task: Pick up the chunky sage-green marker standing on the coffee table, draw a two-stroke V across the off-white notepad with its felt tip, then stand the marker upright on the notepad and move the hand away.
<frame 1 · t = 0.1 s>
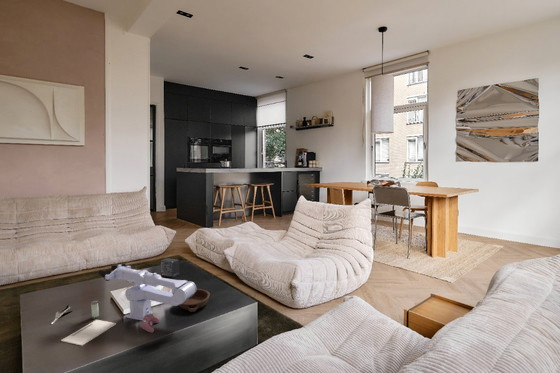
hand: (105, 269, 162), 22 cm above the table, tool horizontal, fingers open, 7 cm apart
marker: (95, 317, 157), on the table
video game controller: (150, 328, 147), on the table
scissors: (62, 315, 161), on the table
notepad: (89, 332, 144), on the table
dish: (193, 305, 169), on the table
small box: (170, 275, 212), on the table
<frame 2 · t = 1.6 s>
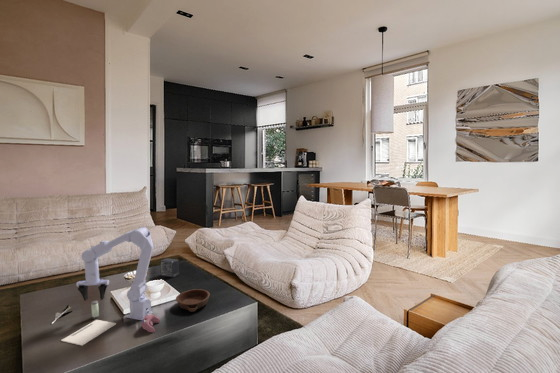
hand: (94, 299, 156), 9 cm above the table, tool pointing down, fingers open, 7 cm apart
nothing on the table moved.
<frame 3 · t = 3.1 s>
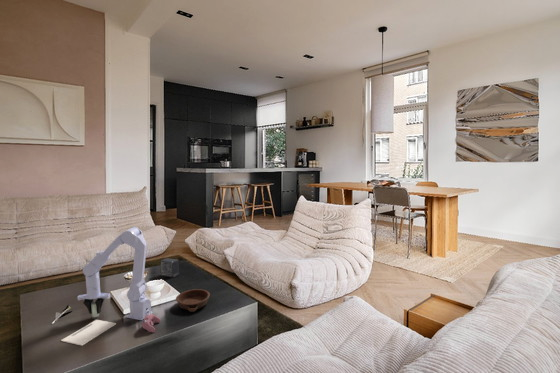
hand: (95, 312, 157), 2 cm above the table, tool pointing down, fingers closed on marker, 3 cm apart
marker: (95, 317, 157), on the table, touching gripper
everything else where it was.
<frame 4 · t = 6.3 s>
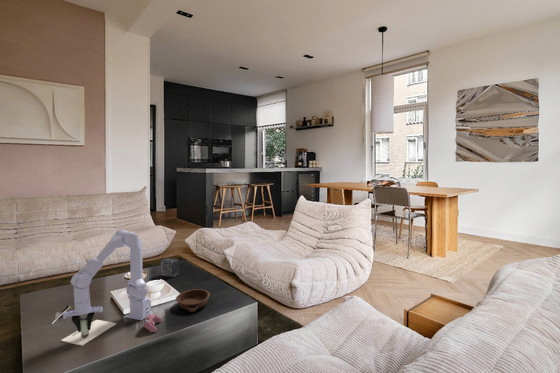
hand: (84, 330, 139), 3 cm above the table, tool pointing down, fingers closed on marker, 3 cm apart
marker: (85, 335, 139), point 1 cm above the table, touching gripper
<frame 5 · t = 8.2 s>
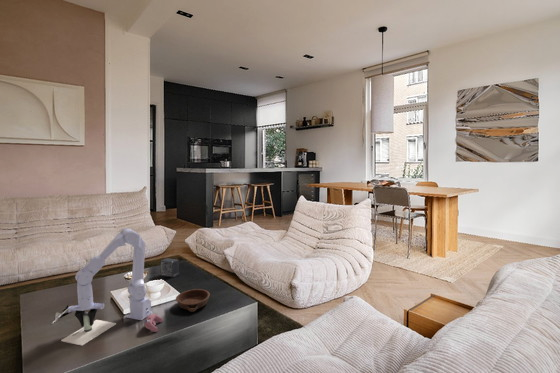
hand: (87, 325, 144), 3 cm above the table, tool pointing down, fingers closed on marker, 3 cm apart
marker: (88, 330, 145), resting on notepad, touching gripper
when the fingers open (4 cm above the table, at t = 10.0 s): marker stays where it is, resting on notepad.
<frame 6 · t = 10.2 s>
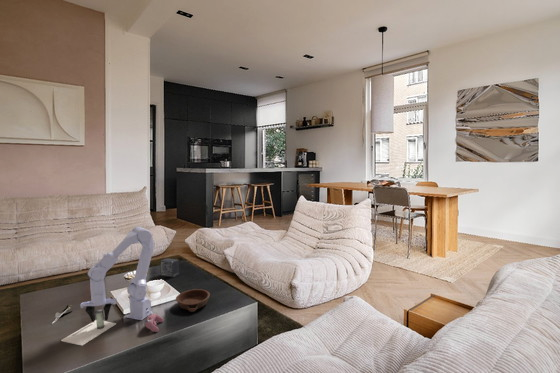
hand: (100, 320, 147), 4 cm above the table, tool pointing down, fingers open, 5 cm apart
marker: (100, 327, 147), resting on notepad
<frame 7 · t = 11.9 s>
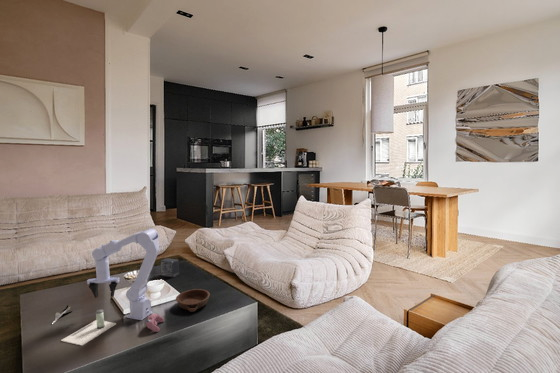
hand: (104, 296, 159), 9 cm above the table, tool pointing down, fingers open, 7 cm apart
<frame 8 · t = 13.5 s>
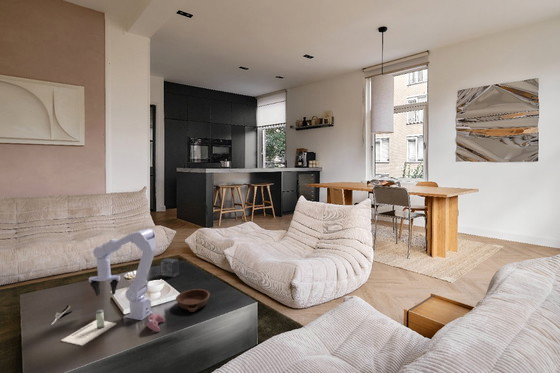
hand: (105, 294, 161), 9 cm above the table, tool pointing down, fingers open, 7 cm apart
at the end: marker inside the target area on the notepad (4.5 cm from its centre), point 0.4 cm above the notepad's base; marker tilted 0°; the gripper is holding nothing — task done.
